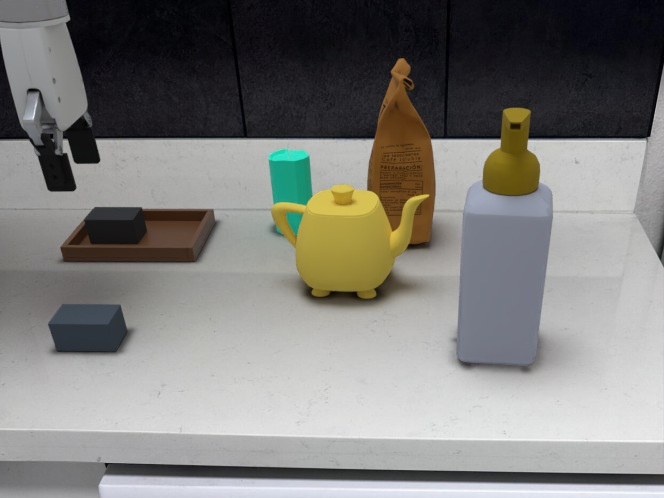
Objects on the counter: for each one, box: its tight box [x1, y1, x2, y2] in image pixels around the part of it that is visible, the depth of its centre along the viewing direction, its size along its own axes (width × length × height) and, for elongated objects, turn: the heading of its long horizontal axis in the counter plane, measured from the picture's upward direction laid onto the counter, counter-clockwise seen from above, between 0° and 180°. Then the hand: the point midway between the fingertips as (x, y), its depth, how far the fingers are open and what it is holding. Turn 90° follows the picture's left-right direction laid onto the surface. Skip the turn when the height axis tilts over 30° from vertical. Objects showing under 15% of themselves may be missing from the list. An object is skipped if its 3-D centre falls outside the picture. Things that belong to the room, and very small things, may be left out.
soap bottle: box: [455, 107, 554, 367], centre depth 84 cm, size 9×9×25 cm
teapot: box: [270, 183, 429, 300], centre depth 101 cm, size 13×20×12 cm
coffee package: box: [366, 58, 437, 245], centre depth 110 cm, size 10×12×22 cm
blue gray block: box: [47, 303, 128, 352], centre depth 93 cm, size 7×5×4 cm
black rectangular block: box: [83, 206, 147, 244], centre depth 115 cm, size 7×5×4 cm
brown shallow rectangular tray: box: [59, 208, 216, 263], centre depth 115 cm, size 19×15×2 cm
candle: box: [268, 142, 314, 237], centre depth 115 cm, size 6×6×12 cm
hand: (75, 176), depth 94 cm, fingers open, 9 cm apart
